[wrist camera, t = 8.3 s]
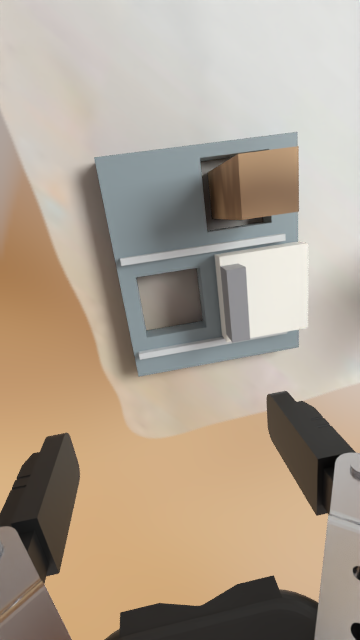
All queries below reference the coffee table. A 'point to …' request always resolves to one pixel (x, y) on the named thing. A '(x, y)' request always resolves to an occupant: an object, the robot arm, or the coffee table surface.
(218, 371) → the coffee table surface
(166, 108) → the coffee table surface
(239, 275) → the lid
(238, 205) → the walnut post
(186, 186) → the puzzle board
